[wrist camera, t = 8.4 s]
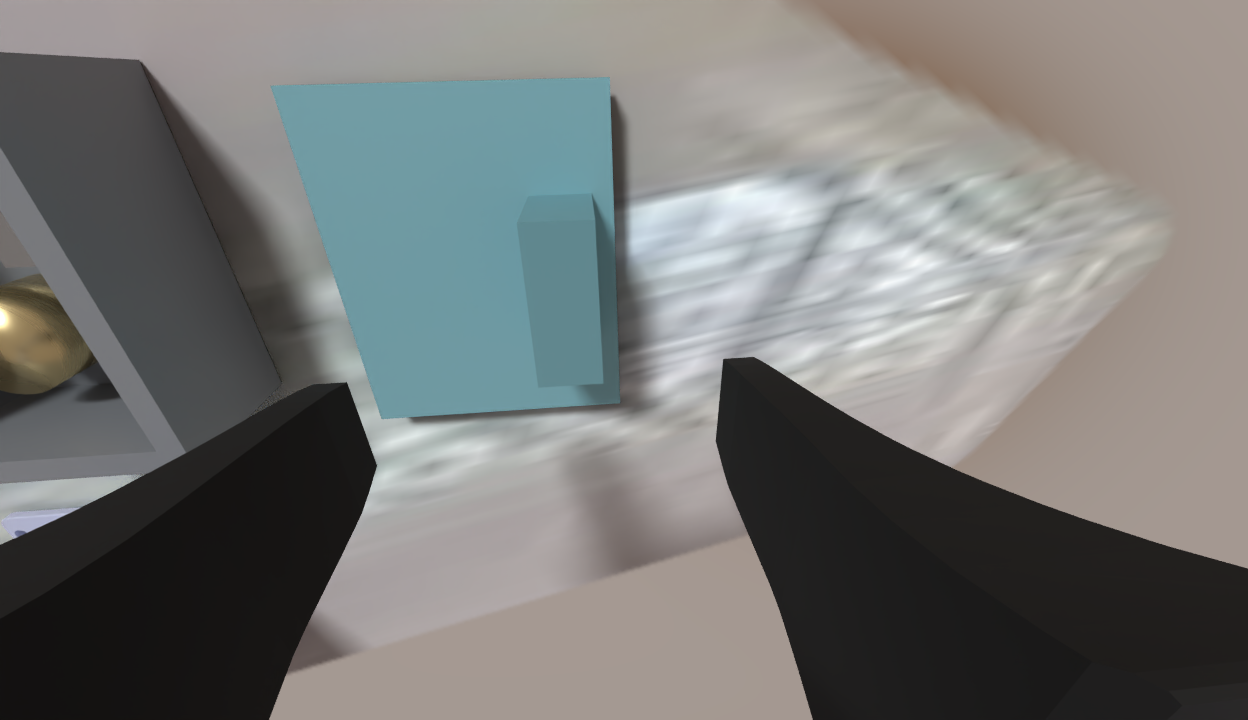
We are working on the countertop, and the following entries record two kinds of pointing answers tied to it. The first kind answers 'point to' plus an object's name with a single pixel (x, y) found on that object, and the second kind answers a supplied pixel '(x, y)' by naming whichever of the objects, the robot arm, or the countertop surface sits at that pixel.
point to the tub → (118, 276)
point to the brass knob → (37, 339)
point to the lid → (467, 236)
